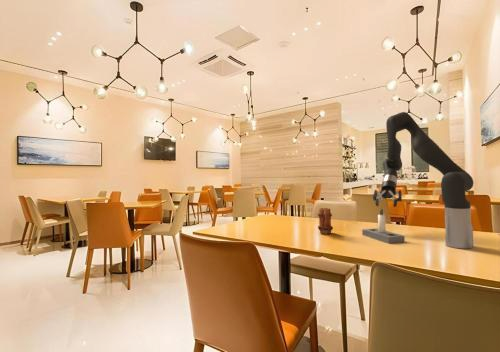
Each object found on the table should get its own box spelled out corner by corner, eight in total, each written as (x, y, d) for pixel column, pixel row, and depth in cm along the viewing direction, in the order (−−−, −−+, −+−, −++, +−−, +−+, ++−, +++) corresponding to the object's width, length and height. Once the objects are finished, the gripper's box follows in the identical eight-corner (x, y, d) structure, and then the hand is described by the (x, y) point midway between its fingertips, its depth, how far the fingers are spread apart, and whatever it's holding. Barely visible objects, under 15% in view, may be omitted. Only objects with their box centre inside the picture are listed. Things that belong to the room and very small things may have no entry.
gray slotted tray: (376, 233, 150) (376, 228, 150) (404, 241, 131) (404, 235, 131) (362, 234, 148) (362, 229, 148) (388, 243, 129) (388, 237, 129)
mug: (317, 231, 160) (316, 206, 160) (331, 231, 159) (330, 206, 159) (320, 237, 146) (319, 209, 146) (335, 237, 144) (335, 209, 145)
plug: (382, 237, 142) (381, 208, 142) (387, 238, 138) (386, 209, 138) (377, 237, 141) (376, 209, 141) (381, 239, 138) (380, 209, 138)
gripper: (374, 179, 160) (370, 201, 151) (402, 179, 151) (399, 201, 142) (377, 188, 164) (373, 209, 155) (403, 188, 155) (401, 210, 146)
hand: (385, 205), depth 148 cm, fingers open, 8 cm apart
